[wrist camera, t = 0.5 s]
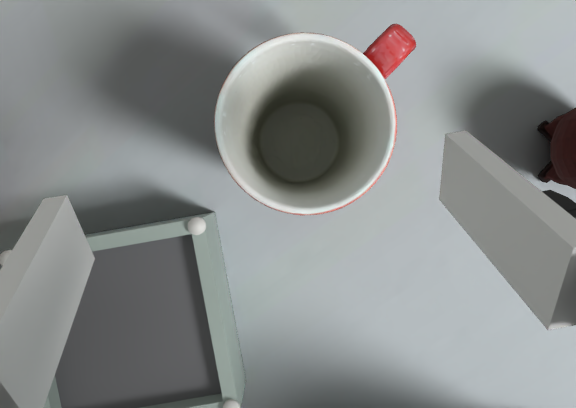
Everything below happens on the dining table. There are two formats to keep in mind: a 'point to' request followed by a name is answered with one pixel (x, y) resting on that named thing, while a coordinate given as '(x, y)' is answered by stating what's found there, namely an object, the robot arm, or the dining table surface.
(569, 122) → the mate gourd
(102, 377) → the pale green square tray
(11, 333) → the robot arm
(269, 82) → the mug
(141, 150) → the dining table surface
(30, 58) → the dining table surface
